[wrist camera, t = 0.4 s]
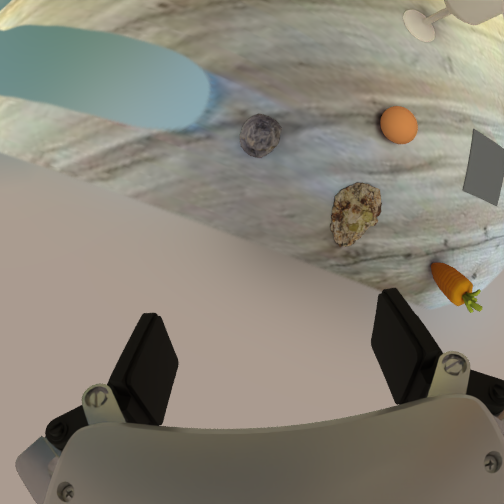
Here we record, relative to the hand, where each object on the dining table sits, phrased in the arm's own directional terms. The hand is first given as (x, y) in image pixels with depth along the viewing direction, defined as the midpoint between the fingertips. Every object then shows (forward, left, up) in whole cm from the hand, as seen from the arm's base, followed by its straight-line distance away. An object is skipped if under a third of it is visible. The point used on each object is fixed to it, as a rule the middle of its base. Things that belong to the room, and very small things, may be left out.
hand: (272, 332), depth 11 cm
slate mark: (-14, +42, -30) cm, 53 cm away
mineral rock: (+1, +15, -31) cm, 34 cm away
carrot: (+7, +34, -30) cm, 46 cm away
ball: (-14, +18, -27) cm, 35 cm away
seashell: (-8, -1, -30) cm, 31 cm away
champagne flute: (-35, +22, -30) cm, 51 cm away
